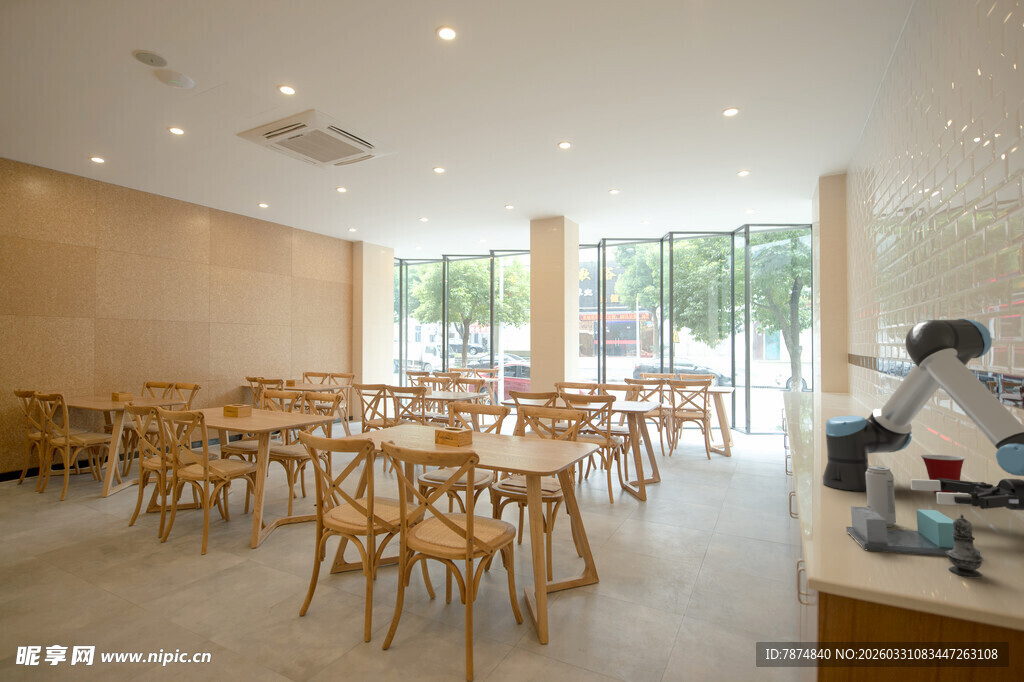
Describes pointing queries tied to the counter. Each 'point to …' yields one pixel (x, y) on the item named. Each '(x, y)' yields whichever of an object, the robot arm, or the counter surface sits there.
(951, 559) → the salt shaker
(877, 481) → the energy drink can
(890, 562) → the counter surface
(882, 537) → the grey base stand
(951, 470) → the plastic cup
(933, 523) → the sliding jaw
